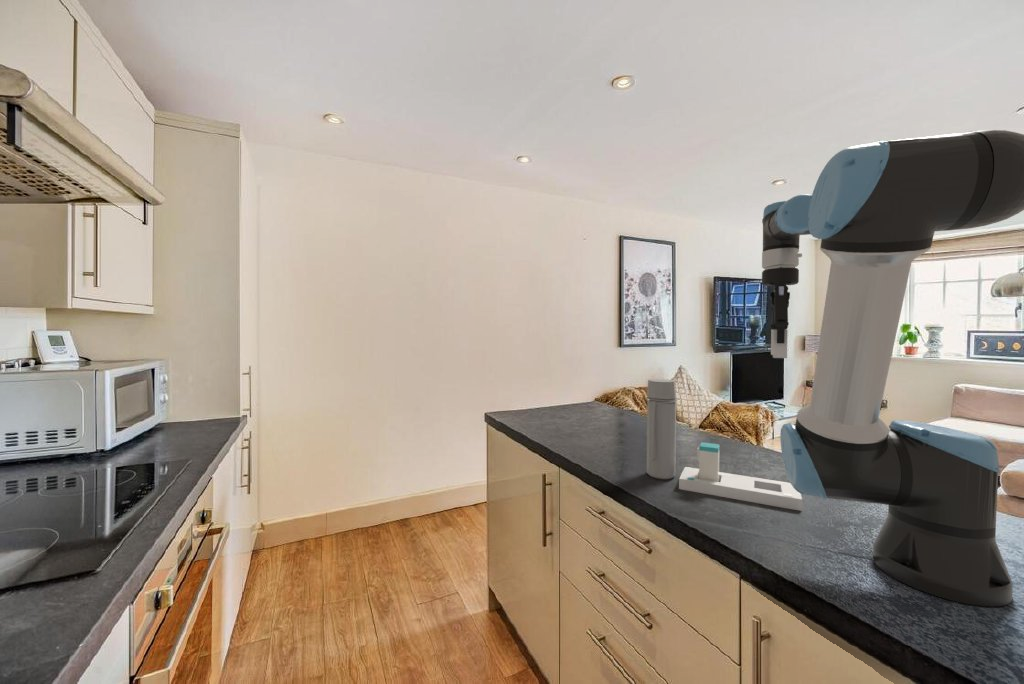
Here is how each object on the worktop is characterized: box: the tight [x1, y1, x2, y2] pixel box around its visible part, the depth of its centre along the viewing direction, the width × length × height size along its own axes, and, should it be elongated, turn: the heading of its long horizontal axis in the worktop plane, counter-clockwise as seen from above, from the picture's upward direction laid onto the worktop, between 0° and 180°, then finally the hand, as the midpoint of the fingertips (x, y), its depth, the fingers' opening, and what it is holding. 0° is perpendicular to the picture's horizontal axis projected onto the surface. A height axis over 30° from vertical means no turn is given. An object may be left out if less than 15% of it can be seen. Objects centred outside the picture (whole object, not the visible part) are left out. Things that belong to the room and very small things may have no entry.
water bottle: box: [645, 378, 678, 480], centre depth 109 cm, size 9×8×25 cm
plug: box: [696, 441, 720, 482], centre depth 100 cm, size 4×5×10 cm
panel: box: [678, 466, 803, 512], centre depth 97 cm, size 10×24×3 cm, turn 60°
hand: (778, 356), depth 102 cm, fingers open, 13 cm apart
